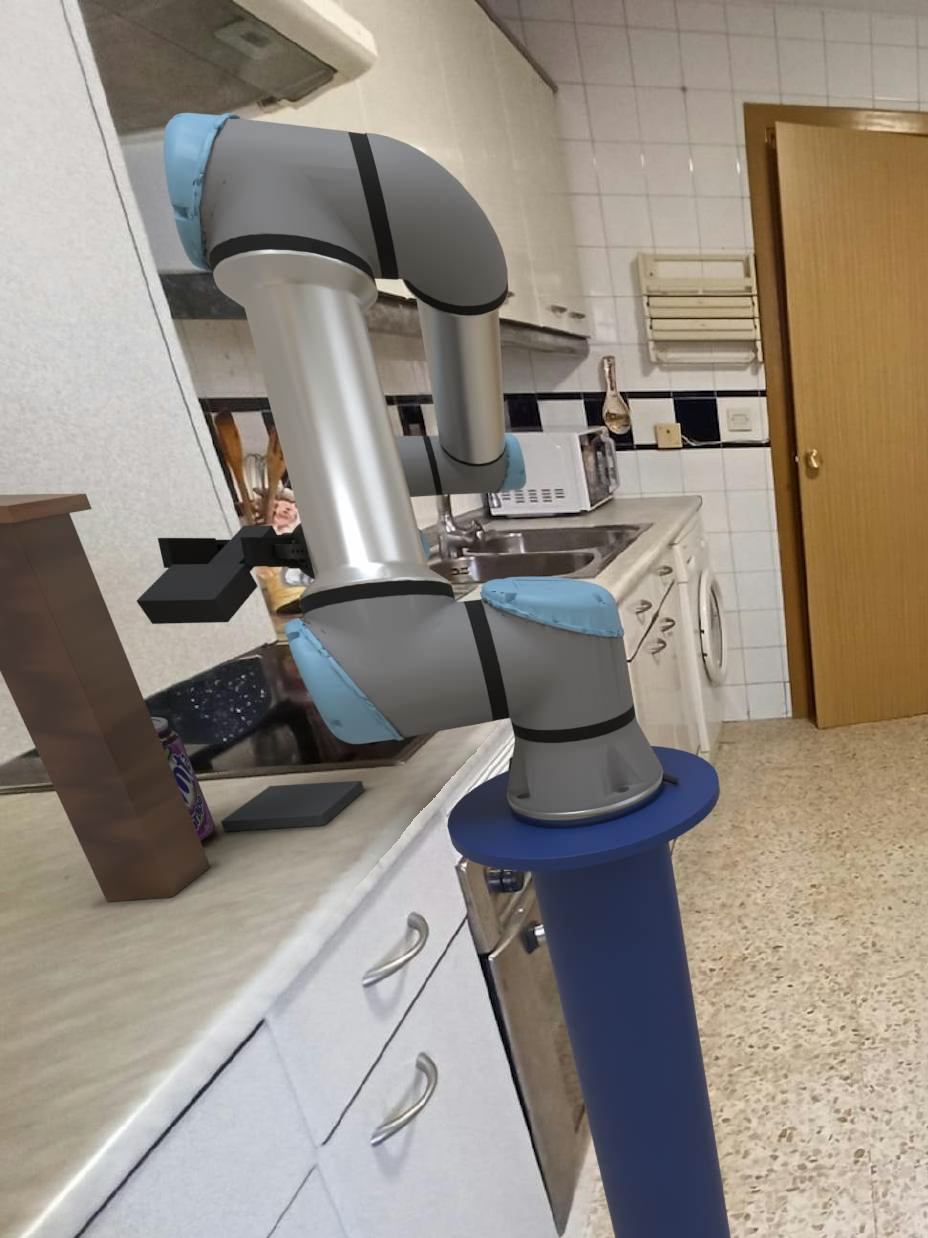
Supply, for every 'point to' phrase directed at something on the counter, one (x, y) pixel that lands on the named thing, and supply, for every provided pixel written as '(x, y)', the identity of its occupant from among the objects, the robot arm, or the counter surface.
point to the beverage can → (185, 778)
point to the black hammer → (204, 586)
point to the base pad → (293, 806)
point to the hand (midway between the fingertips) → (207, 552)
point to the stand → (88, 706)
